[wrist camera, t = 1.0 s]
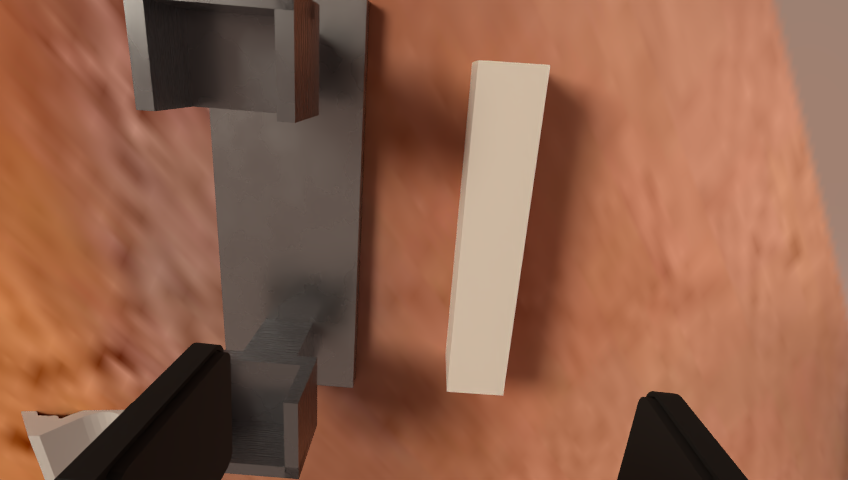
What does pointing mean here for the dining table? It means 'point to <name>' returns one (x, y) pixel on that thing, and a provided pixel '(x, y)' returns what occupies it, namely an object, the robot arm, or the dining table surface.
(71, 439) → the crown molding
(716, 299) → the dining table surface
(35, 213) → the dining table surface
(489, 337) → the rail
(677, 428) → the robot arm
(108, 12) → the dining table surface
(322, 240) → the bracket stand
